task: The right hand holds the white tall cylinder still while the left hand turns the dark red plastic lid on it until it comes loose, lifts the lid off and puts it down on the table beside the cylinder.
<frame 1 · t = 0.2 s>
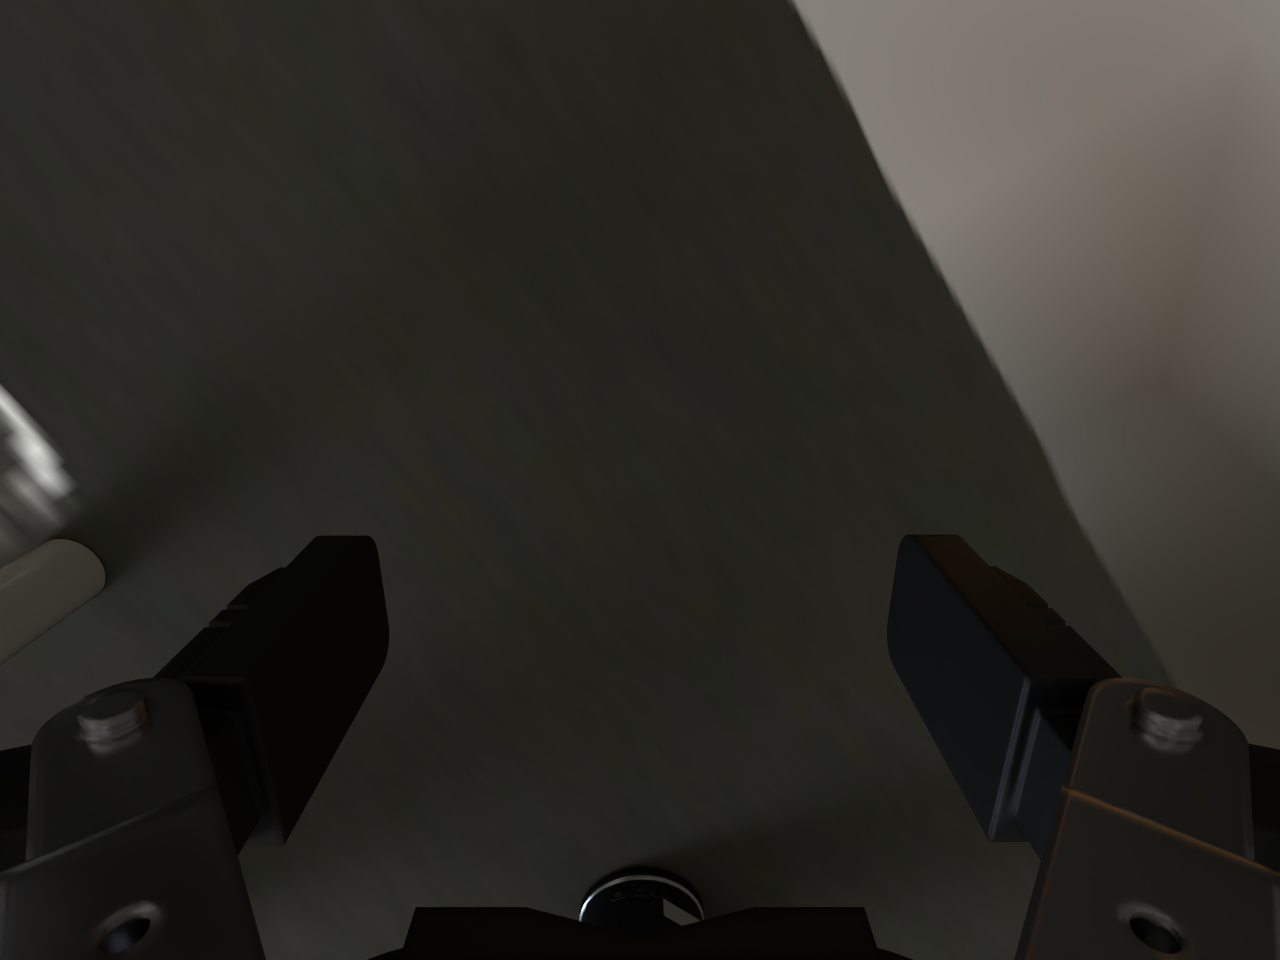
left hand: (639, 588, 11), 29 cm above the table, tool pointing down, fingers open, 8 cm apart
white tall cylinder: (70, 569, 44), on the table
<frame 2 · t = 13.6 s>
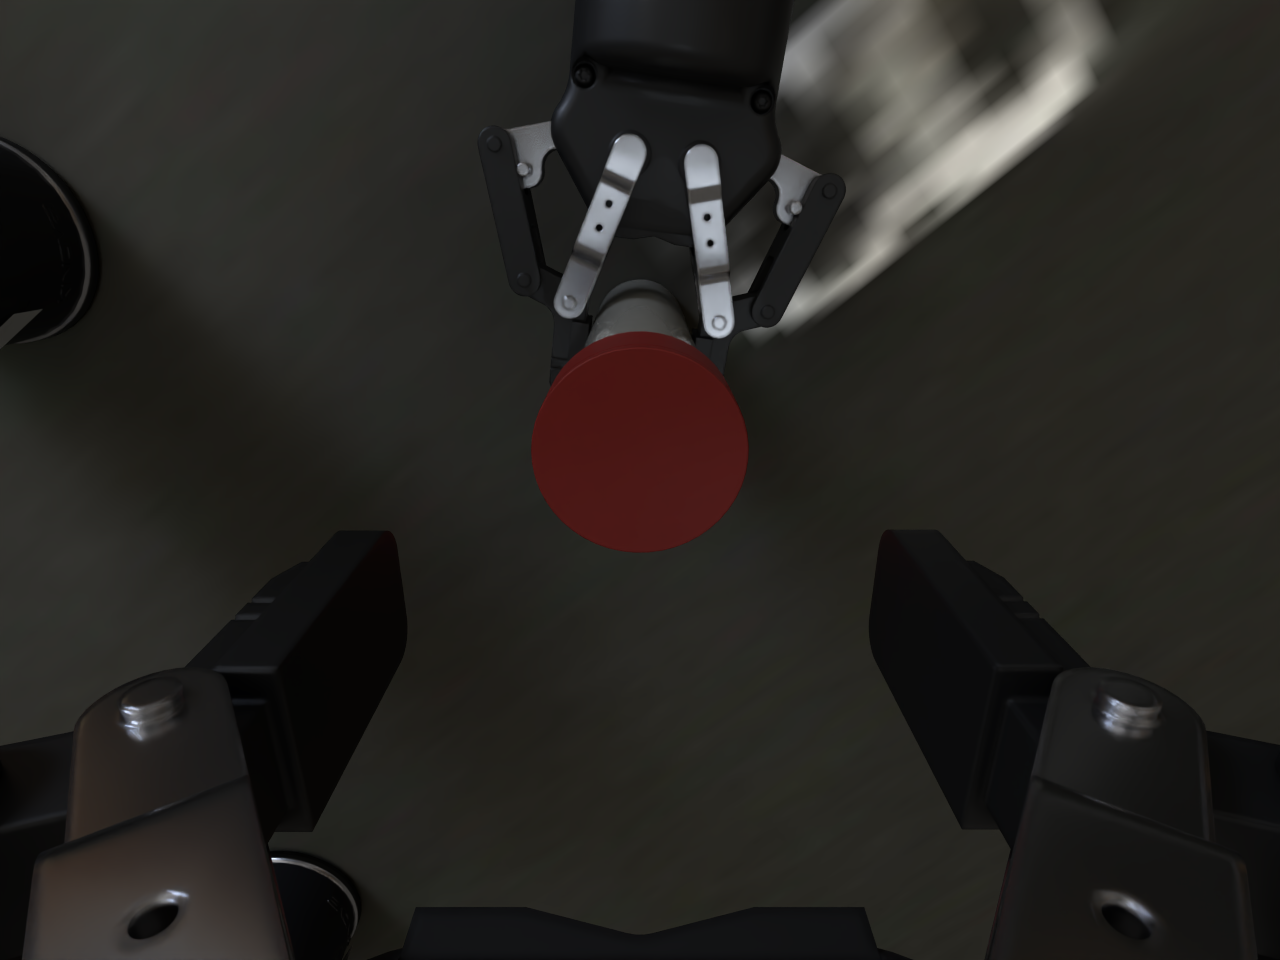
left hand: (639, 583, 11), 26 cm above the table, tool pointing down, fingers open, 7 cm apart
right hand: (630, 411, 30), fingers closed on white tall cylinder, 4 cm apart
white tall cylinder: (639, 324, 35), on the table, touching right hand
lid: (639, 451, 17), point 19 cm above the table, screwed on, not yet turned
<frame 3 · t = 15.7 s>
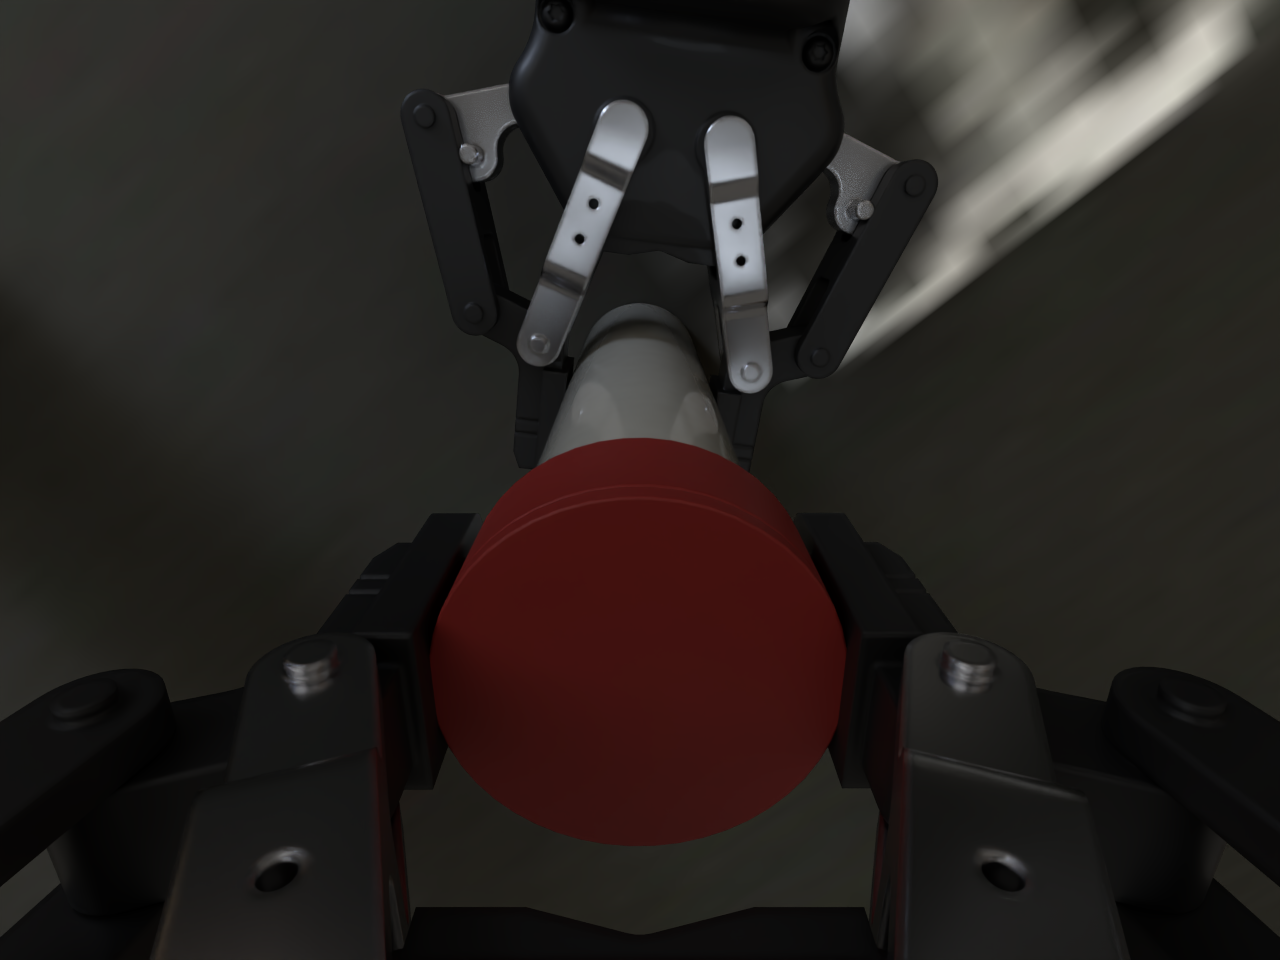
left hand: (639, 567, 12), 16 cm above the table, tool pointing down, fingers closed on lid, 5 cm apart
right hand: (626, 487, 22), fingers closed on white tall cylinder, 4 cm apart
white tall cylinder: (639, 360, 27), on the table, touching right hand
lid: (638, 673, 9), point 19 cm above the table, screwed on, not yet turned, touching left hand
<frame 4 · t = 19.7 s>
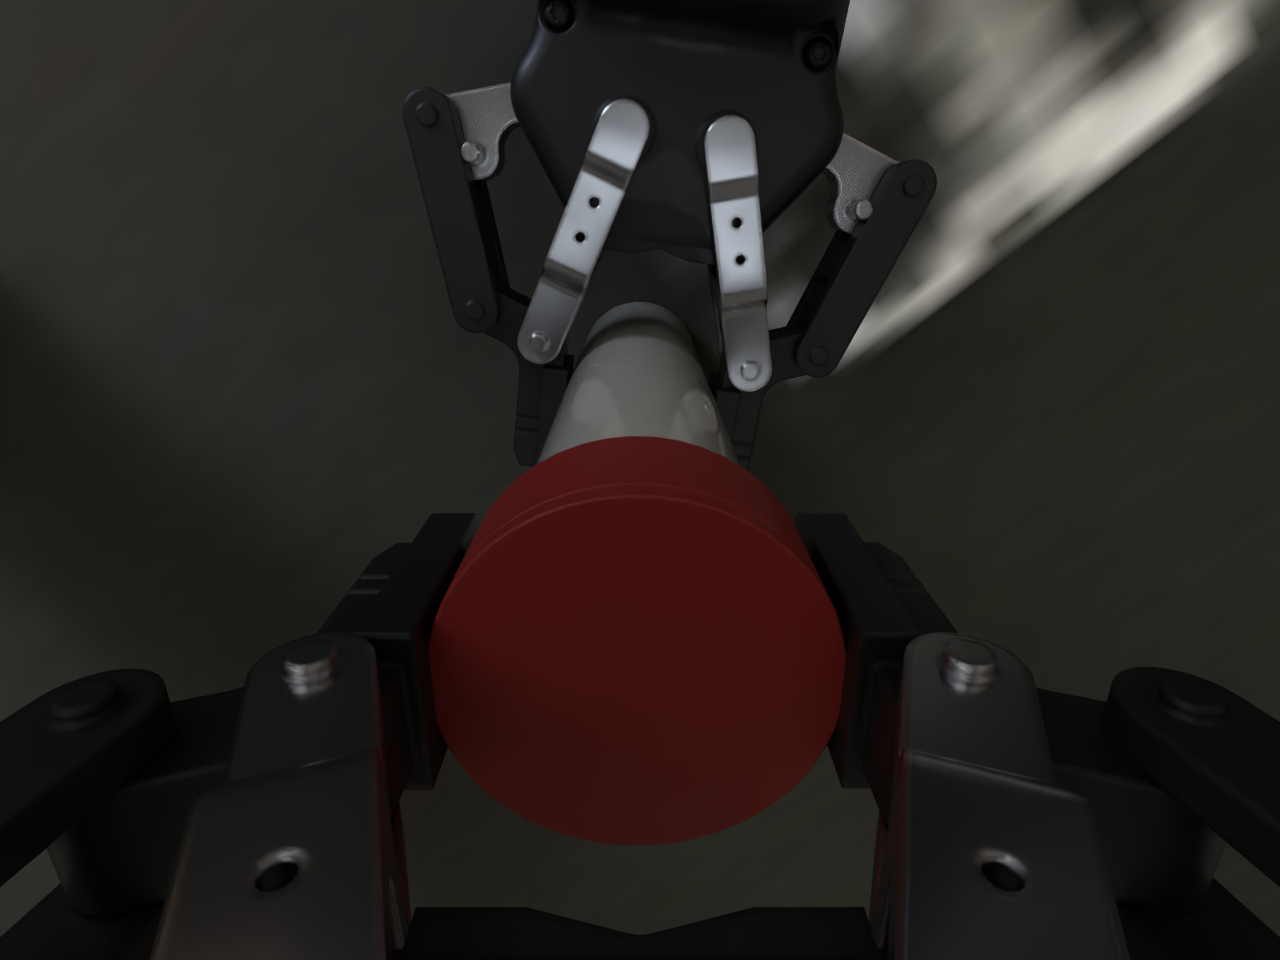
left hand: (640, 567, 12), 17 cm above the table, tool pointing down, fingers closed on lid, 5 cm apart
right hand: (626, 485, 22), fingers closed on white tall cylinder, 4 cm apart
white tall cylinder: (639, 359, 27), on the table, touching right hand
lid: (637, 672, 9), point 19 cm above the table, turned 95° so far, risen 0.1 cm, still on its thread, touching left hand
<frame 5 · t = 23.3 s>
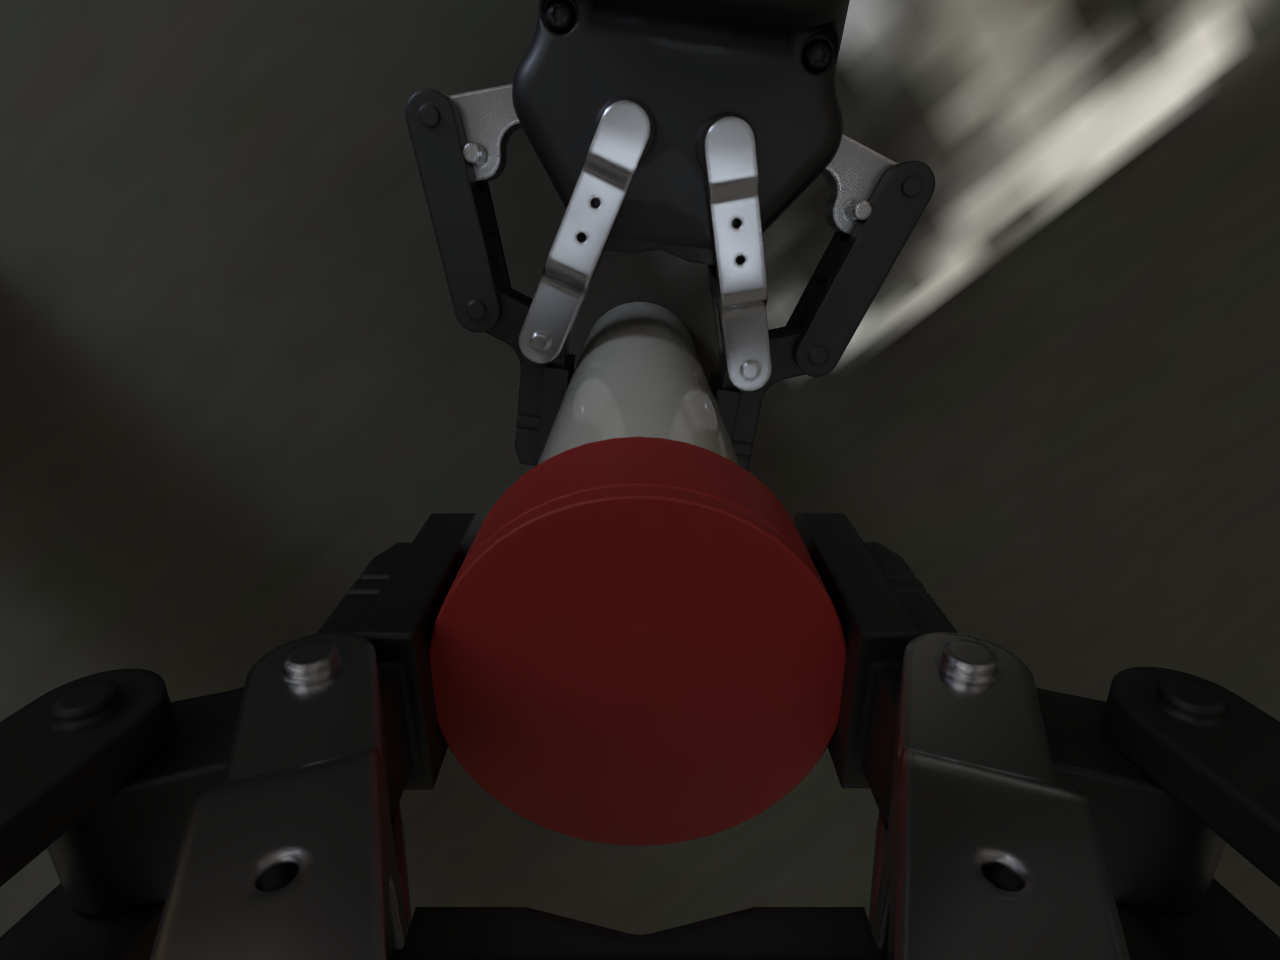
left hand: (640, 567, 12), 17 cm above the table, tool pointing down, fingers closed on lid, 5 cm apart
right hand: (626, 483, 22), fingers closed on white tall cylinder, 4 cm apart
white tall cylinder: (639, 358, 27), on the table, touching right hand
lid: (638, 672, 9), point 20 cm above the table, turned 191° so far, risen 0.3 cm, still on its thread, touching left hand
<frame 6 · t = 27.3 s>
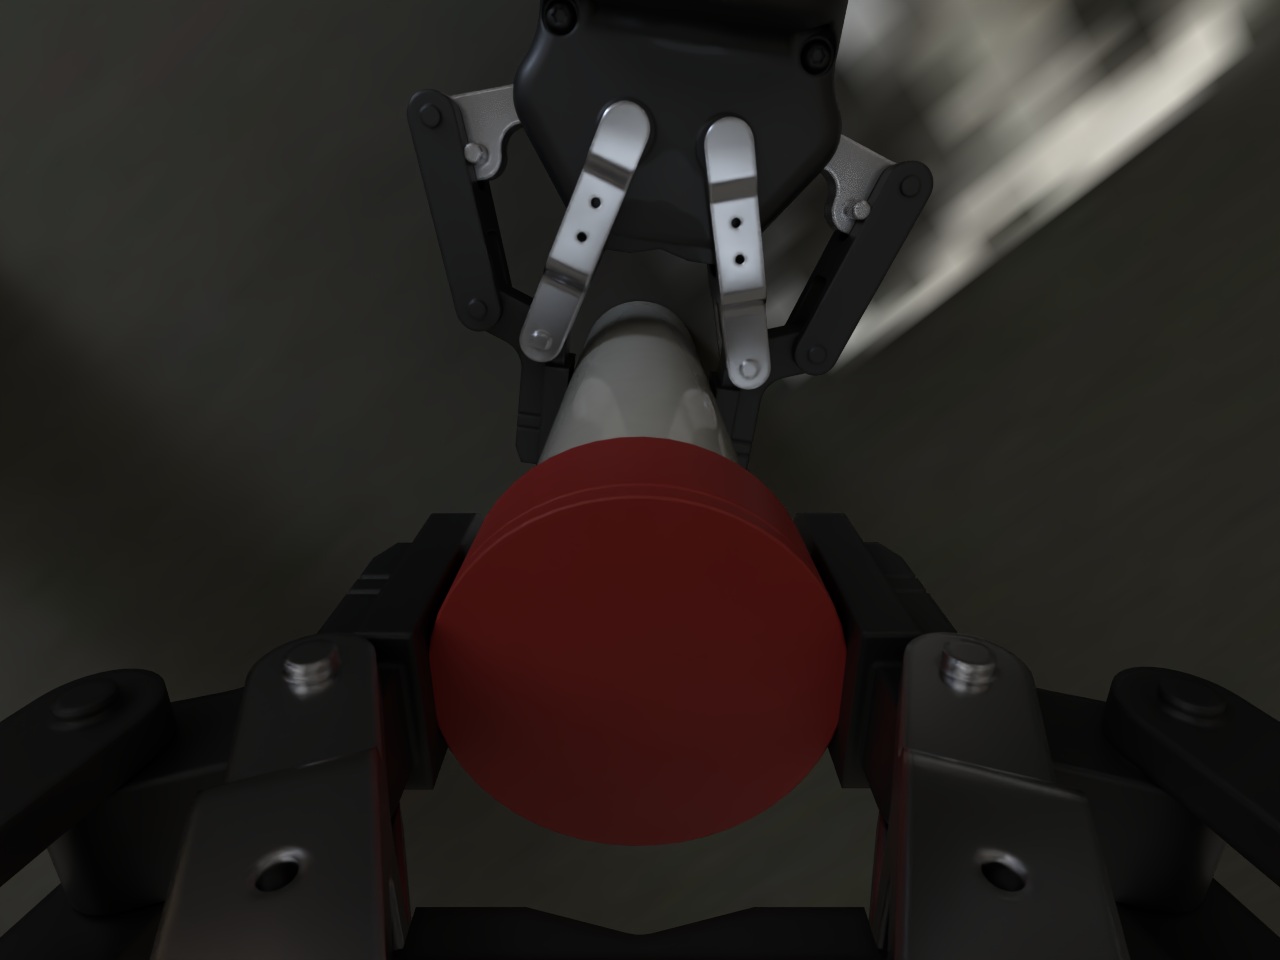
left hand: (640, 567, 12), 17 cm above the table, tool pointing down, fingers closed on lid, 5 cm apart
right hand: (626, 482, 22), fingers closed on white tall cylinder, 4 cm apart
white tall cylinder: (639, 357, 27), on the table, touching right hand
lid: (638, 672, 9), point 20 cm above the table, turned 286° so far, risen 0.4 cm, still on its thread, touching left hand
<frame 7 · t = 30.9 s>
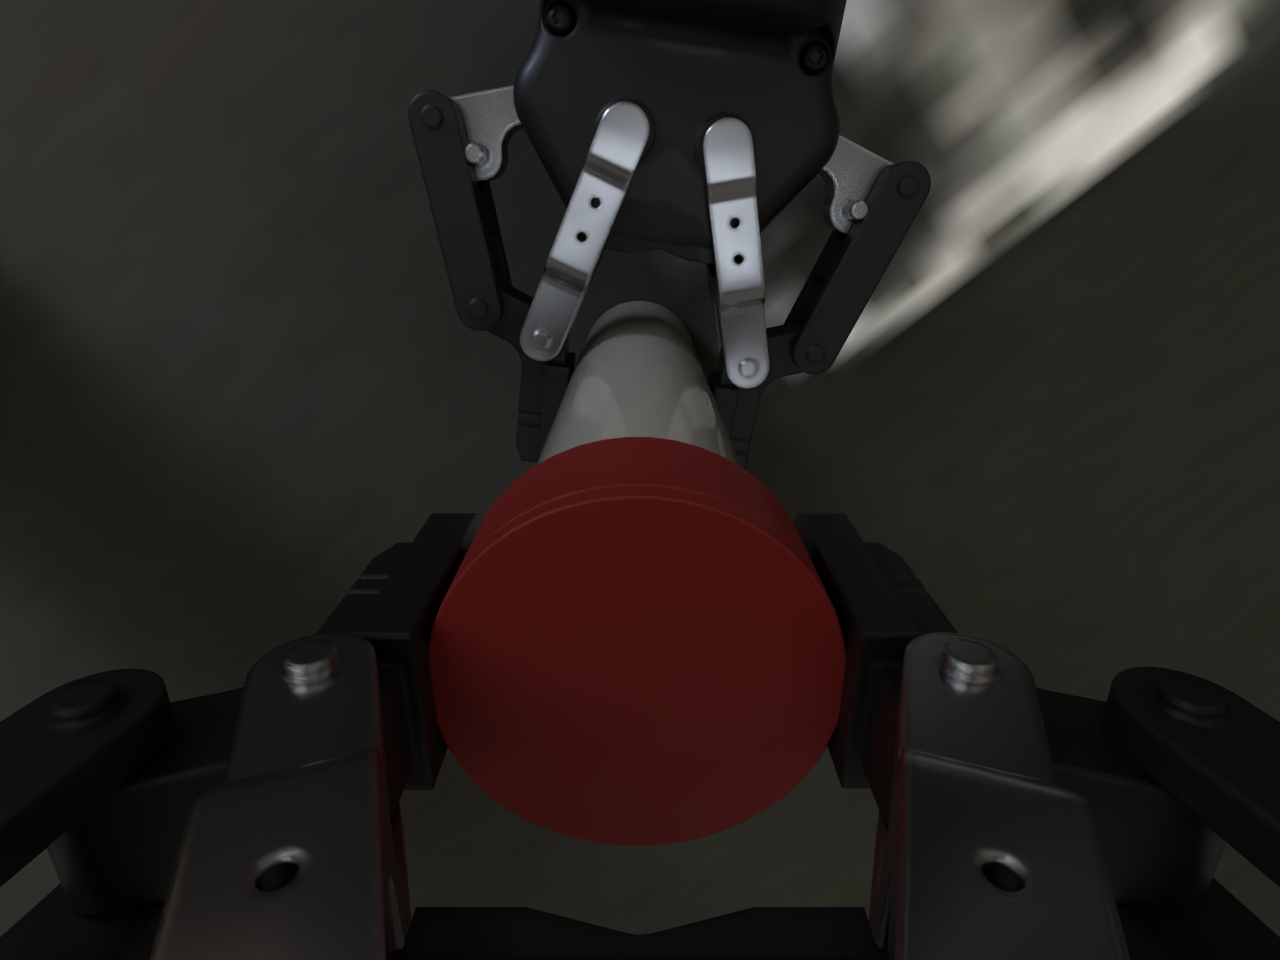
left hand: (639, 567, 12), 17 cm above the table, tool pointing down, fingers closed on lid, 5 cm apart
right hand: (626, 480, 23), fingers closed on white tall cylinder, 4 cm apart
white tall cylinder: (639, 357, 27), on the table, touching right hand
lid: (637, 672, 9), point 20 cm above the table, turned 381° so far, risen 0.5 cm, still on its thread, touching left hand
when the left hand's fingers open (1 cm above the table, at t = 41.7 s): lid drops 2 cm, point 2 cm above the table.
when the right hand's fingers open (6 cm above the table, at t = 42.8 s): white tall cylinder stays where it is, on the table.
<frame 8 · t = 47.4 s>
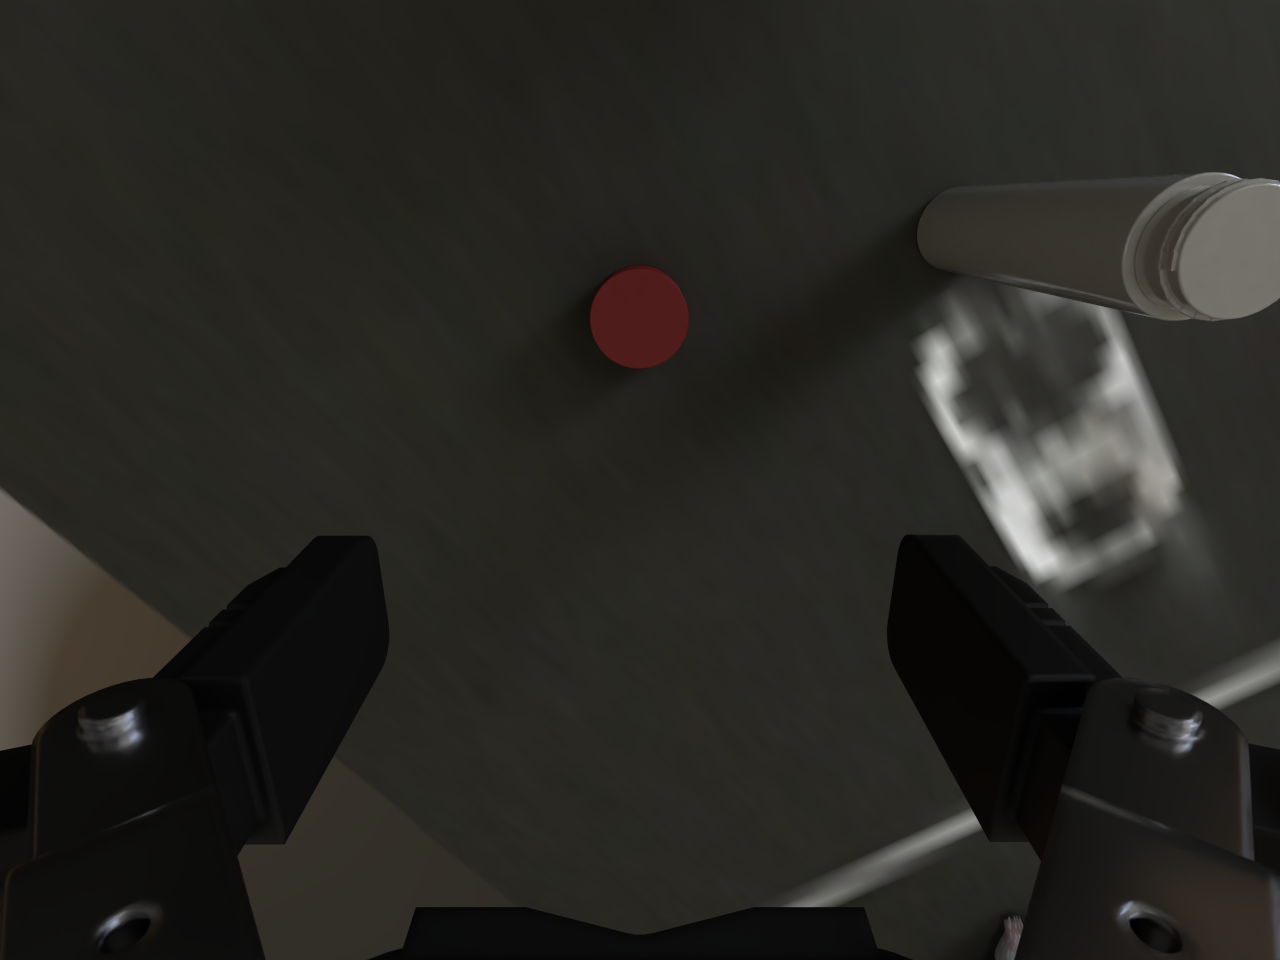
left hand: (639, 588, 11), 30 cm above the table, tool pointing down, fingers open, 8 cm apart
white tall cylinder: (957, 229, 37), on the table
lid: (639, 319, 37), point 2 cm above the table, off its thread
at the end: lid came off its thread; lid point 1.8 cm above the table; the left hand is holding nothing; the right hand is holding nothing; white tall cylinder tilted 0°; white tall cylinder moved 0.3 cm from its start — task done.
